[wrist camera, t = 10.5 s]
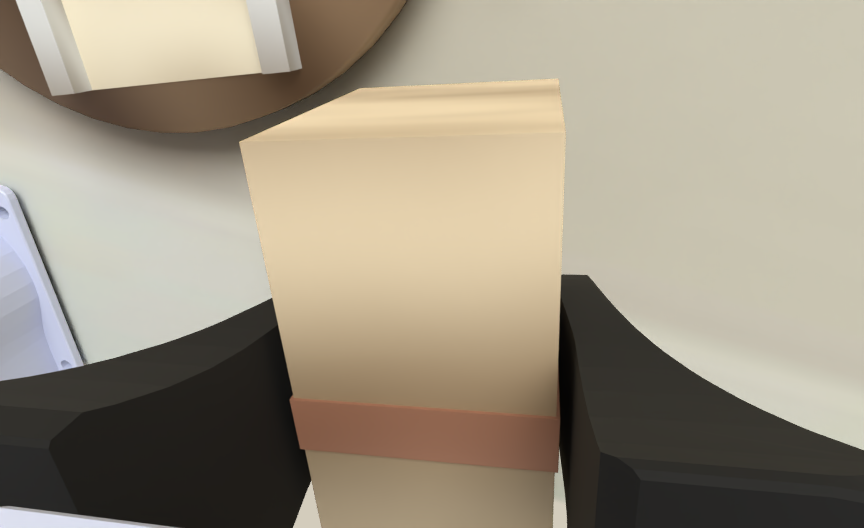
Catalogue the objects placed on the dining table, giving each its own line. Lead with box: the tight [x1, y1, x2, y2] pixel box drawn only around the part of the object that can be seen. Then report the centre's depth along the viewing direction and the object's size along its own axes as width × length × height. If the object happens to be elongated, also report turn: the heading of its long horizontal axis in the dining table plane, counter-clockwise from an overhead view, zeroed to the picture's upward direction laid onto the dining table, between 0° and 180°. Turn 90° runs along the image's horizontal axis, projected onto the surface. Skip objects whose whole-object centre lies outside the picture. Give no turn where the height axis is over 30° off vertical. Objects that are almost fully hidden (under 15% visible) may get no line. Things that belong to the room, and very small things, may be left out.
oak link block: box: [239, 79, 566, 528], centre depth 11 cm, size 9×4×5 cm, turn 4°
